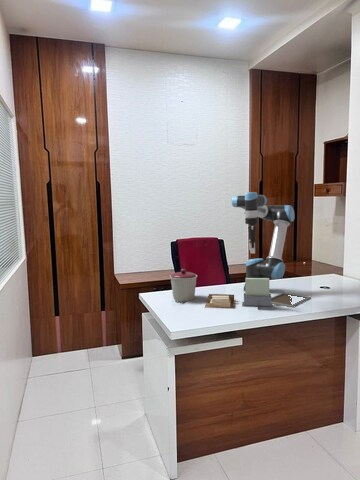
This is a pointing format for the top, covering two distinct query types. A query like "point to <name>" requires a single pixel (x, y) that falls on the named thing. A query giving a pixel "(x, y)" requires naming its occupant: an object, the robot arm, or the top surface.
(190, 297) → the canister
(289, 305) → the grey brown flat board
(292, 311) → the top surface
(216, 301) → the offcut upper
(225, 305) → the offcut lower
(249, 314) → the top surface
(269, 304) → the stand
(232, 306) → the rack
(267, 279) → the panel
